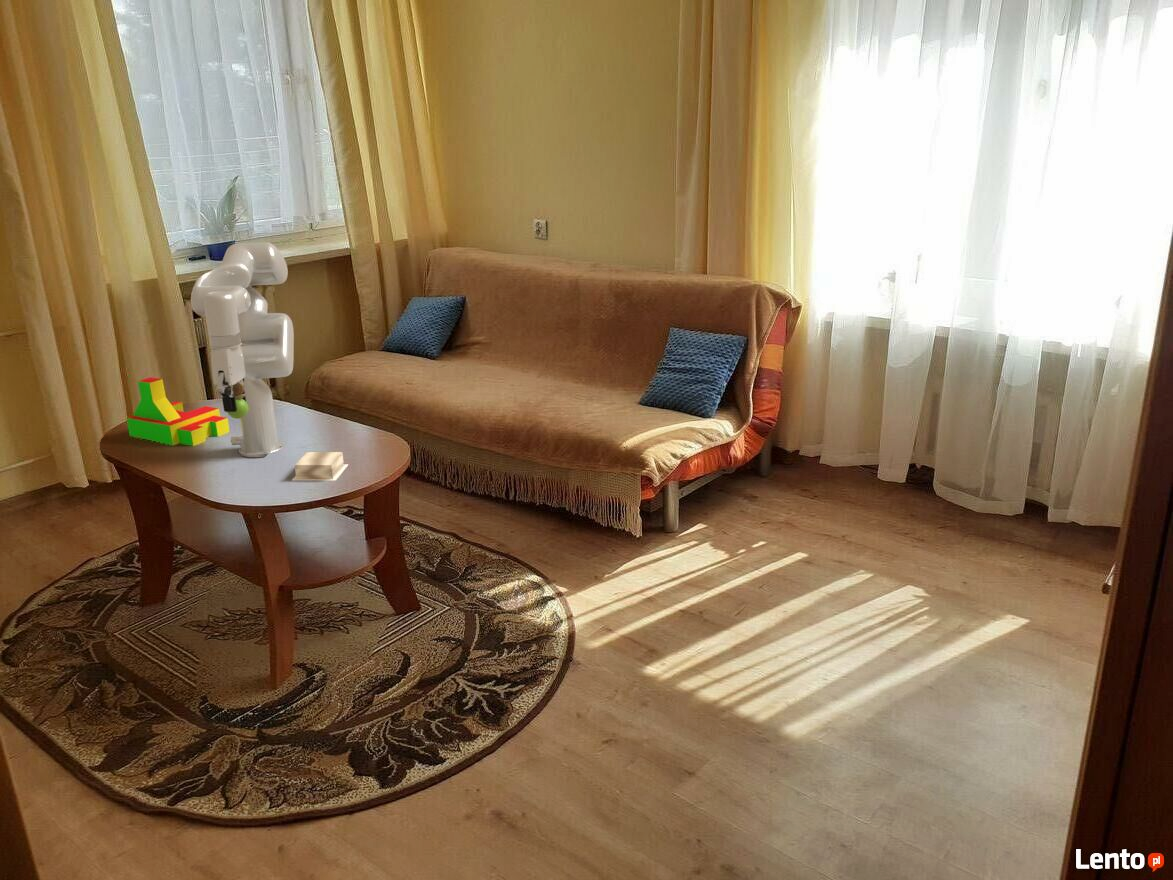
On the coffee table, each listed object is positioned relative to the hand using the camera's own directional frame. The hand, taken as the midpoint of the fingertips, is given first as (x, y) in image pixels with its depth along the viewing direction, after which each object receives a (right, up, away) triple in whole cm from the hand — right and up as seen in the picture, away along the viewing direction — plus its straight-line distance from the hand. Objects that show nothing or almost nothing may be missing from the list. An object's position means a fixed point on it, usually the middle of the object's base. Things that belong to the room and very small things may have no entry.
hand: (235, 407), depth 243 cm
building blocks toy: (-34, -7, +47) cm, 59 cm away
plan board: (+16, -18, +12) cm, 27 cm away
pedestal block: (+19, -17, +10) cm, 28 cm away
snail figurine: (0, -3, +1) cm, 3 cm away
